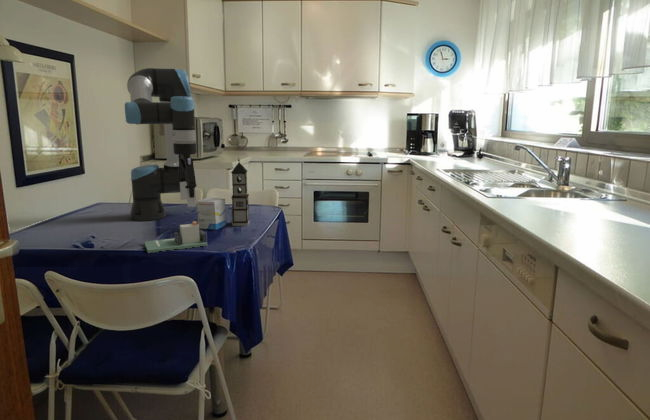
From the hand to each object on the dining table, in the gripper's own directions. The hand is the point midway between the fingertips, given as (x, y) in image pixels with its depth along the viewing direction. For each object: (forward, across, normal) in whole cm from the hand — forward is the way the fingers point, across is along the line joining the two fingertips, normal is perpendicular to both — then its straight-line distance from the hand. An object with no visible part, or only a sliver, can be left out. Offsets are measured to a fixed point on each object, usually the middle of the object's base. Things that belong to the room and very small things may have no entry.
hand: (188, 202), depth 162 cm
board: (+15, 0, -5) cm, 16 cm away
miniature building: (+16, -22, +25) cm, 36 cm away
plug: (+14, +1, 0) cm, 14 cm away
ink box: (+16, -22, +13) cm, 30 cm away
